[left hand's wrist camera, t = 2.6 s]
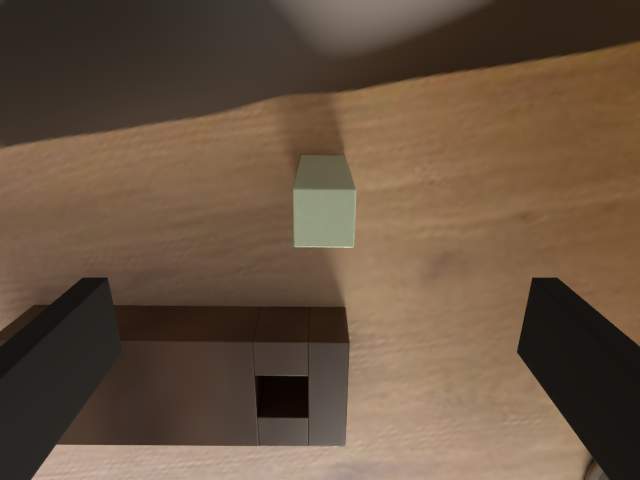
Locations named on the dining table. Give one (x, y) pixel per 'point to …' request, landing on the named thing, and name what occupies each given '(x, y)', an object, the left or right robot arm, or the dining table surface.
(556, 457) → the dining table surface
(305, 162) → the peg
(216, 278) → the dining table surface
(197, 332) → the peg block
